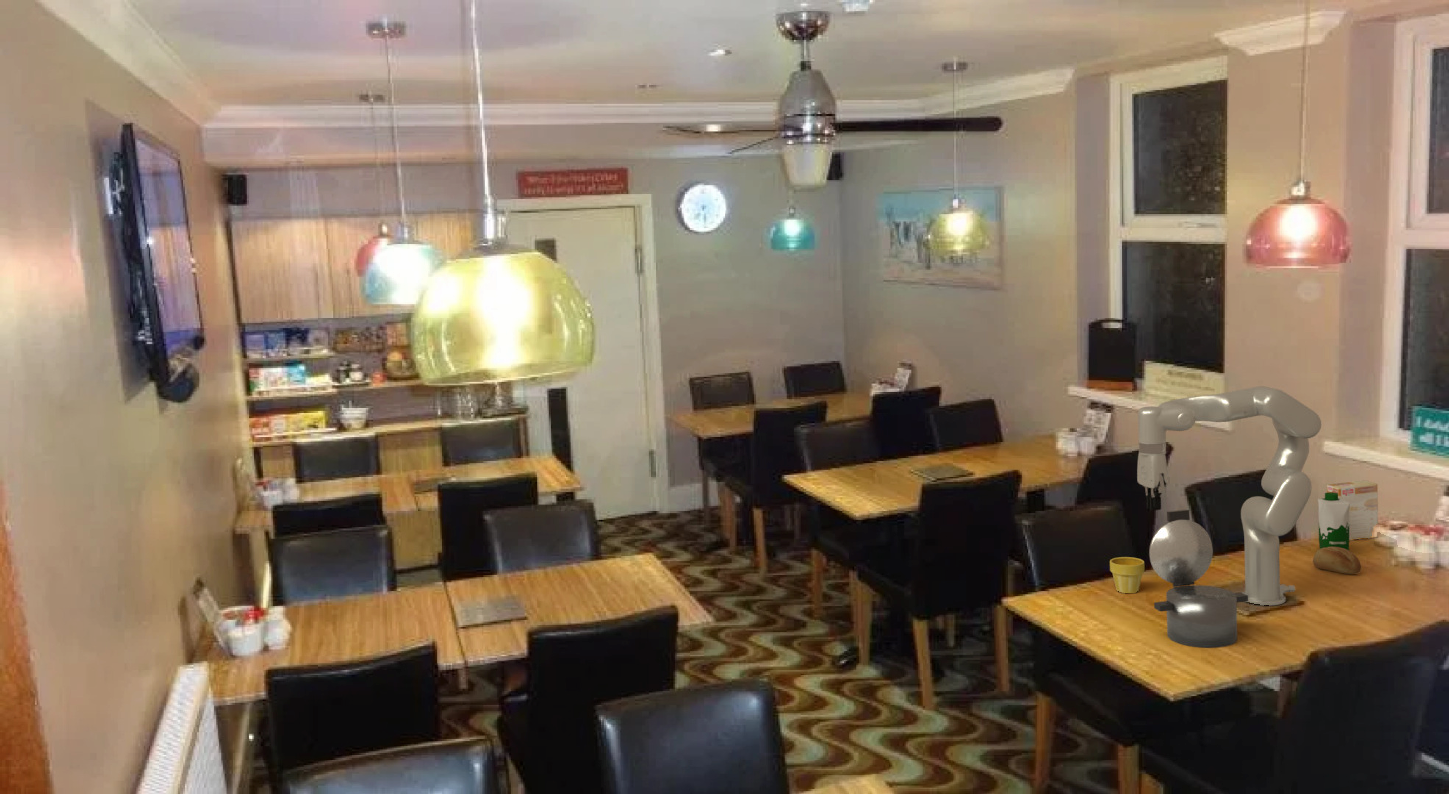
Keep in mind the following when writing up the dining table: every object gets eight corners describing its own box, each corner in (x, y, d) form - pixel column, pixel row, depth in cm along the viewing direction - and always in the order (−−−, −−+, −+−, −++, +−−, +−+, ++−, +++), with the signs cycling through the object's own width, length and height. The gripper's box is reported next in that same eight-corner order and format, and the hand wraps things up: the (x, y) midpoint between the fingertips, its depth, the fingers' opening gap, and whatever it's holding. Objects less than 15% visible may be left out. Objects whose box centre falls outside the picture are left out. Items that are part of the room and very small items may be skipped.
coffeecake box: (1365, 533, 405) (1364, 479, 403) (1378, 537, 398) (1378, 483, 396) (1326, 537, 404) (1325, 483, 401) (1339, 542, 397) (1339, 487, 394)
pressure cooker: (1224, 620, 328) (1224, 580, 326) (1264, 641, 309) (1263, 599, 307) (1140, 630, 324) (1138, 589, 323) (1174, 652, 306) (1173, 609, 304)
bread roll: (1350, 579, 356) (1350, 555, 355) (1305, 570, 369) (1304, 546, 368) (1367, 573, 361) (1367, 549, 360) (1322, 564, 374) (1322, 540, 373)
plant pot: (1140, 585, 365) (1139, 556, 364) (1149, 595, 355) (1148, 564, 354) (1107, 586, 366) (1106, 557, 365) (1115, 596, 356) (1114, 566, 355)
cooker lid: (1215, 582, 324) (1209, 580, 327) (1210, 508, 323) (1204, 506, 326) (1153, 589, 322) (1148, 587, 325) (1148, 514, 321) (1143, 513, 324)
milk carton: (1343, 548, 389) (1342, 491, 386) (1353, 555, 380) (1352, 497, 377) (1315, 549, 390) (1315, 492, 388) (1325, 556, 381) (1324, 498, 379)
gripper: (1127, 445, 342) (1129, 505, 344) (1153, 453, 326) (1155, 516, 329) (1151, 443, 343) (1152, 502, 345) (1178, 451, 327) (1179, 513, 330)
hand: (1154, 508), depth 337 cm, fingers closed
